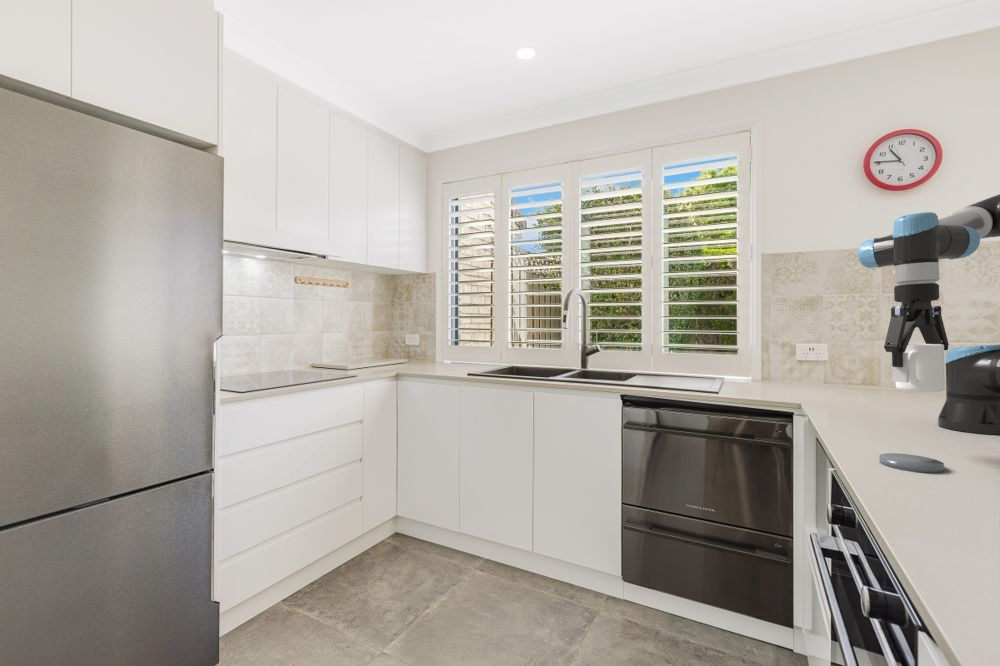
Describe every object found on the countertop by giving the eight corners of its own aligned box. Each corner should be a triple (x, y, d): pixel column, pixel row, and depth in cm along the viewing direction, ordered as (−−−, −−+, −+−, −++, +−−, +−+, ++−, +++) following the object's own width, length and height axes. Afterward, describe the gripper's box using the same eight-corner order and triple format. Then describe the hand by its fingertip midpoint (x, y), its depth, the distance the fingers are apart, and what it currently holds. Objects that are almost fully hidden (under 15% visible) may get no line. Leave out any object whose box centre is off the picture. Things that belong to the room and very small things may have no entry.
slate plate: (897, 456, 102) (897, 451, 102) (955, 469, 93) (955, 463, 93) (868, 461, 99) (868, 456, 99) (925, 475, 89) (925, 469, 89)
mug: (936, 395, 97) (935, 346, 97) (886, 391, 103) (885, 345, 103) (948, 389, 104) (947, 344, 104) (900, 386, 110) (900, 343, 110)
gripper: (927, 286, 111) (929, 375, 111) (862, 284, 103) (864, 381, 103) (968, 282, 104) (970, 378, 104) (902, 281, 96) (903, 385, 96)
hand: (917, 380), depth 104 cm, fingers closed on mug, 12 cm apart
